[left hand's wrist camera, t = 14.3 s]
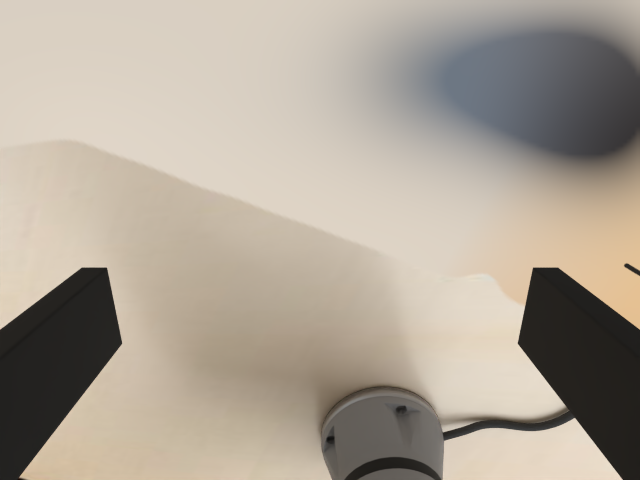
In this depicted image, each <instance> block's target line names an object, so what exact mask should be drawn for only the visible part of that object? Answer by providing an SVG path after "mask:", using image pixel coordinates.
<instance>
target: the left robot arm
mask: <svg viewBox="0 0 640 480" xmlns="http://www.w3.org/2000/svg"><path fill="white" fill-rule="evenodd" d="M624 267H625V268H627V269H629V270H630V271H632V272H634V273H635V274H637V275H639V276H640V270H638V269H636V268H635V267H633V266H631V265H630V264H628V263H626V264H624ZM121 344H122V340H121V335H120V330H119V325H118V320H117V315H116V310H115V305H114V300H113V295H112V290H111V286H110V281H109V276H108V271H107V268H81V269H80V270H78V271H77V272H76V273H74V274H73V275H72V276H70V277H69V278H68V279H66V280H65V281H64V282H63V283H61V284H60V285H59V286H57V287H56V288H55V289H53V290H52V291H51V292H49V293H48V294H47V295H45V296H44V297H43V298H41V299H40V300H39V301H37V302H36V303H35V304H34V305H32V306H31V307H30V308H28V309H27V310H26V311H24V312H23V313H22V314H20V315H19V316H18V317H16V318H15V319H14V320H12V321H11V322H10V323H8V324H7V325H6V326H5V327H3V328H2V329H1V330H0V480H17V479H18V478H19V477H20V475H21V474H22V473H23V471H24V470H25V469H26V468H27V466H28V465H29V464H30V462H31V461H32V460H33V458H34V457H35V456H36V455H37V453H38V452H39V451H40V449H41V448H42V447H43V445H44V444H45V443H46V442H47V440H48V439H49V438H50V436H51V435H52V434H53V433H54V431H55V430H56V429H57V427H58V426H59V425H60V423H61V422H62V421H63V420H64V418H65V417H66V416H67V414H68V413H69V412H70V410H71V409H72V408H73V407H74V405H75V404H76V403H77V401H78V400H79V399H80V398H81V396H82V395H83V394H84V392H85V391H86V390H87V388H88V387H89V386H90V385H91V383H92V382H93V381H94V379H95V378H96V377H97V375H98V374H99V373H100V372H101V370H102V369H103V368H104V366H105V365H106V364H107V363H108V361H109V360H110V359H111V357H112V356H113V355H114V353H115V352H116V351H117V350H118V348H119V347H120V346H121ZM518 344H519V346H520V347H521V348H522V350H523V351H524V352H525V353H526V355H527V356H528V357H529V359H530V360H531V361H532V363H533V364H534V365H535V366H536V368H537V369H538V370H539V372H540V373H541V374H542V375H543V377H544V378H545V379H546V381H547V382H548V383H549V385H550V386H551V387H552V388H553V390H554V391H555V392H556V394H557V395H558V396H559V398H560V399H561V400H562V401H563V403H564V404H565V405H566V407H567V408H568V409H569V410H570V411H568V412H567V413H565V414H563V415H561V416H559V417H557V418H555V419H552V420H549V421H545V422H540V423H531V424H527V423H516V422H508V421H498V420H488V421H480V422H476V423H473V424H470V425H467V426H464V427H461V428H458V429H454V430H451V431H447V432H442V428H441V425H440V422H439V420H438V417H437V415H436V413H435V411H434V410H433V408H432V407H431V406H430V405H429V404H428V403H427V402H426V401H425V400H424V399H422V398H421V397H419V396H418V395H416V394H414V393H412V392H409V391H406V390H403V389H399V388H392V387H375V388H369V389H365V390H361V391H358V392H356V393H353V394H351V395H349V396H347V397H346V398H344V399H342V400H341V401H340V402H338V403H337V404H336V405H335V406H334V407H333V408H332V409H331V411H330V412H329V413H328V415H327V417H326V418H325V421H324V423H323V427H322V452H323V456H324V460H325V463H326V465H327V468H328V470H329V473H330V475H331V478H332V480H442V479H443V454H444V441H445V440H448V439H452V438H455V437H459V436H462V435H466V434H469V433H472V432H474V431H477V430H480V429H485V428H506V429H514V430H522V431H540V430H546V429H550V428H554V427H557V426H559V425H562V424H564V423H566V422H568V421H570V420H572V419H573V418H576V420H577V421H578V422H579V423H580V425H581V426H582V427H583V429H584V430H585V431H586V433H587V434H588V435H589V436H590V438H591V439H592V440H593V442H594V443H595V444H596V445H597V447H598V448H599V449H600V451H601V452H602V453H603V455H604V456H605V457H606V458H607V460H608V461H609V462H610V464H611V465H612V466H613V468H614V469H615V470H616V471H617V473H618V474H619V475H620V477H621V478H622V479H623V480H640V330H639V329H638V328H637V327H635V326H634V325H633V324H631V323H630V322H629V321H628V320H626V319H625V318H624V317H622V316H621V315H620V314H618V313H617V312H616V311H614V310H613V309H612V308H610V307H609V306H608V305H606V304H605V303H604V302H603V301H601V300H600V299H599V298H597V297H596V296H595V295H593V294H592V293H591V292H589V291H588V290H587V289H585V288H584V287H583V286H581V285H580V284H579V283H577V282H576V281H575V280H574V279H572V278H571V277H570V276H568V275H567V274H566V273H564V272H563V271H562V270H560V269H559V268H533V271H532V276H531V281H530V286H529V290H528V295H527V300H526V305H525V310H524V315H523V320H522V325H521V330H520V335H519V340H518Z"/></svg>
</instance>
